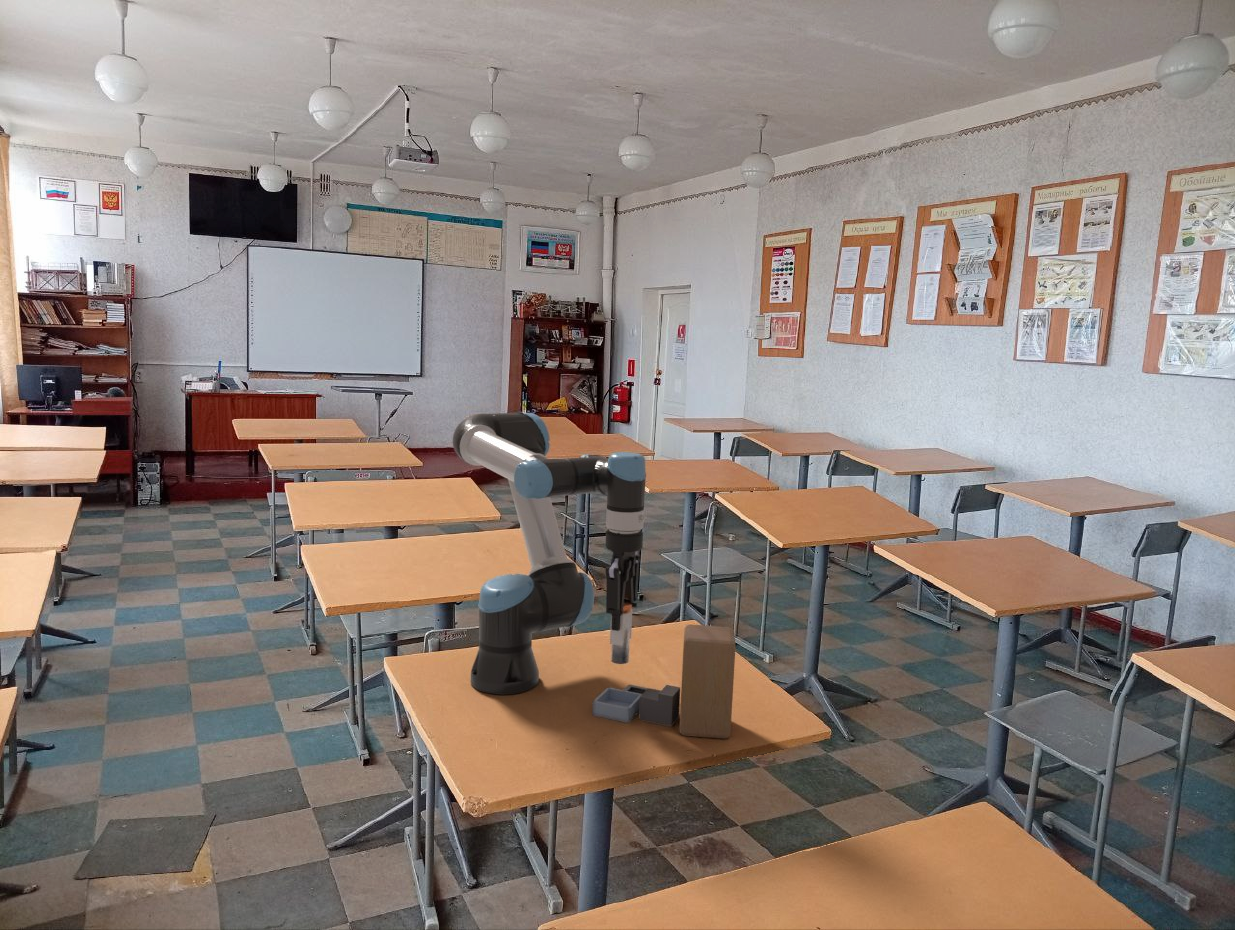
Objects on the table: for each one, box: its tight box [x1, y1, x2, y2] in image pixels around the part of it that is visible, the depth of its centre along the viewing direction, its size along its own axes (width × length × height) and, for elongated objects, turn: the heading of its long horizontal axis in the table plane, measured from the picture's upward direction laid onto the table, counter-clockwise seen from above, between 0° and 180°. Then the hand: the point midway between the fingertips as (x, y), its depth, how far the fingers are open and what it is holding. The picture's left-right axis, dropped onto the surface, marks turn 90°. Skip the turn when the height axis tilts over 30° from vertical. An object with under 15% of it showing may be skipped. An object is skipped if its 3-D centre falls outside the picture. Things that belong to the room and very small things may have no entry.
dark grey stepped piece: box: [638, 684, 681, 727], centre depth 178 cm, size 7×5×6 cm
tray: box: [592, 686, 642, 724], centre depth 180 cm, size 8×8×3 cm
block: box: [678, 624, 737, 739], centre depth 173 cm, size 10×10×20 cm
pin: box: [610, 602, 633, 665], centre depth 178 cm, size 4×4×12 cm
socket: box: [623, 684, 649, 694], centre depth 187 cm, size 7×7×2 cm
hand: (620, 640), depth 178 cm, fingers closed on pin, 3 cm apart
